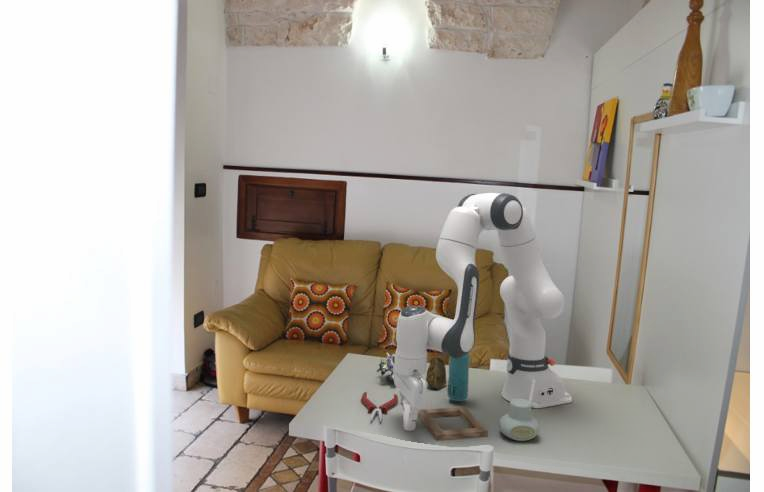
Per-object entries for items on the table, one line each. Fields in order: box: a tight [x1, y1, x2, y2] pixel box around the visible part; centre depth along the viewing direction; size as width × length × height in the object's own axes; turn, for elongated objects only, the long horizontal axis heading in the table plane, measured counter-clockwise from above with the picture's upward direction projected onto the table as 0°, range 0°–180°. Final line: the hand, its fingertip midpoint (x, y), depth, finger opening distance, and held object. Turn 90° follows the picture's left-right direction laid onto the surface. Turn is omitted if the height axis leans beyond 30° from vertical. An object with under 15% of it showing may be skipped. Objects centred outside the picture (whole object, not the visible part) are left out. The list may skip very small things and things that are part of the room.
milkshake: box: [399, 395, 417, 432], centre depth 173 cm, size 4×5×10 cm
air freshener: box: [498, 399, 540, 442], centre depth 171 cm, size 11×8×10 cm
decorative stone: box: [425, 356, 447, 390], centre depth 207 cm, size 10×9×4 cm
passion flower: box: [376, 352, 395, 381], centre depth 211 cm, size 11×11×12 cm
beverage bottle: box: [447, 352, 471, 402], centre depth 193 cm, size 6×7×20 cm
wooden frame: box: [417, 406, 489, 441], centre depth 177 cm, size 15×17×2 cm
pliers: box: [360, 391, 399, 424], centre depth 185 cm, size 12×20×3 cm, turn 176°
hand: (408, 412), depth 173 cm, fingers open, 8 cm apart
